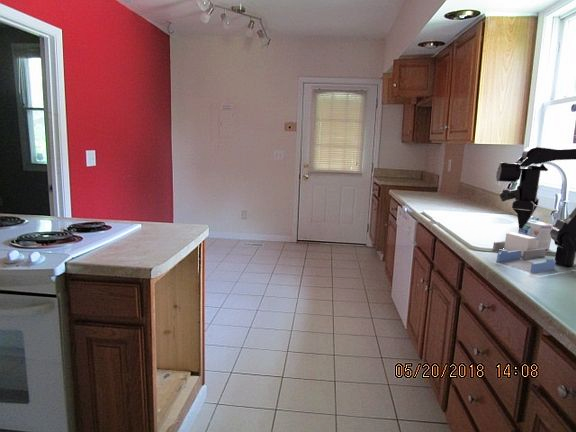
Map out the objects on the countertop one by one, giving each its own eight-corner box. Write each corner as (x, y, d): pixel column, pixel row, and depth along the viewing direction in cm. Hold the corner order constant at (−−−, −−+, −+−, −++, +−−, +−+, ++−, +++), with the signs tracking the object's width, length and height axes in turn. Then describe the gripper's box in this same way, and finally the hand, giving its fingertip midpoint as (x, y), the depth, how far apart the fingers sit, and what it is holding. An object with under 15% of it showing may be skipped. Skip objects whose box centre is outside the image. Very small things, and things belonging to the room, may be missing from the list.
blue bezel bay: (517, 259, 144) (519, 248, 143) (554, 270, 133) (556, 258, 132) (496, 262, 139) (498, 250, 138) (532, 274, 128) (534, 261, 127)
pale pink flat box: (510, 249, 156) (513, 232, 155) (533, 255, 148) (536, 237, 147) (503, 250, 154) (506, 233, 153) (525, 256, 146) (529, 238, 145)
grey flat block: (512, 248, 160) (513, 240, 159) (544, 257, 148) (546, 248, 148) (492, 250, 154) (493, 242, 154) (524, 260, 143) (526, 251, 142)
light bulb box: (515, 244, 167) (519, 219, 165) (528, 243, 169) (532, 219, 167) (536, 251, 157) (541, 225, 155) (550, 250, 159) (554, 224, 157)
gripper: (507, 179, 150) (501, 219, 153) (498, 182, 135) (492, 226, 138) (541, 182, 143) (535, 223, 146) (536, 185, 129) (529, 231, 132)
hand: (522, 226), depth 141 cm, fingers open, 9 cm apart
